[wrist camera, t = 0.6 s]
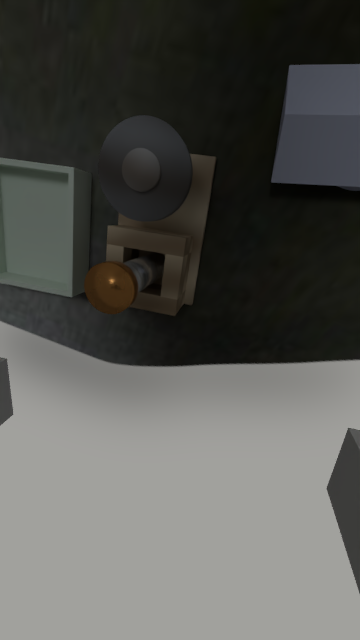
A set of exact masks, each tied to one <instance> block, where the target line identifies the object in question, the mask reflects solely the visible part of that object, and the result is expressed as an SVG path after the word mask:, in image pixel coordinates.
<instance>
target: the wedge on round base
mask: <svg viewBox="0 0 360 640" xmlns="http://www.w3.org/2000/svg"><path fill="white" fill-rule="evenodd" d="M271 182H272V183H292V184H312V185H331V186H338V187H341V188H343V189H346V190H351V191H360V64H332V65H289V71H288V77H287V83H286V90H285V96H284V103H283V109H282V115H281V122H280V128H279V134H278V141H277V147H276V154H275V160H274V166H273V173H272V179H271Z"/></svg>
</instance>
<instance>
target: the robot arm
mask: <svg viewBox="0 0 360 640" xmlns="http://www.w3.org/2000/svg"><path fill="white" fill-rule="evenodd" d="M12 415H13V408H12V399H11V391H10V383H9V374H8V365H7V359H5V358H0V425H1V424H3V423H4V422H5V421H6V420H7V419H8V418H10V417H11V416H12ZM327 491H328V494H329V497H330V500H331V503H332V507H333V510H334V513H335V516H336V519H337V522H338V526H339V529H340V532H341V535H342V538H343V542H344V545H345V548H346V551H347V554H348V558H349V560H350V564H351V567H352V570H353V574H354V577H355V580H356V583H357V586H358V589H359V593H360V430H356V429H351V428H348V431H347V433H346V436H345V439H344V442H343V444H342V447H341V450H340V453H339V455H338V458H337V461H336V464H335V467H334V469H333V472H332V475H331V478H330V480H329V483H328V486H327Z"/></svg>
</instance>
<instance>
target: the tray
mask: <svg viewBox="0 0 360 640" xmlns="http://www.w3.org/2000/svg"><path fill="white" fill-rule="evenodd" d="M91 187H92V173H89V172H86V171H83V170H80V169H77V168H73V167H66V166H58V165H51V164H43V163H36V162H28V161H21V160H14V159H6V158H0V283H3V284H8V285H13V286H18V287H23V288H28V289H33V290H38V291H43V292H48V293H53V294H58V295H63V296H68V297H74V296H76V295H79V294H81V293H83V292H85V289H84V281H85V277H86V275H87V273H88V271H89V248H90V217H91Z"/></svg>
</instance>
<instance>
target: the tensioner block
mask: <svg viewBox="0 0 360 640" xmlns="http://www.w3.org/2000/svg"><path fill="white" fill-rule="evenodd" d="M215 164H216V157H213V156H204V155H196V154H190V153H189V151H188V148H187V146H186V144H185V143H184V141H183V140H182V138H181V137H180V136H179V134H178V133H177V132H176V130H175V129H174V128H173V127H172V126H170V125H169V124H168V123H166V122H165V121H163V120H161V119H159V118H156V117H153V116H147V115H140V116H134V117H131V118H128V119H126V120H124V121H122V122H121V123H119V124H118V125H117V126H116V127H114V128H113V129H112V131H111V132H110V133H109V134H108V136H107V138H106V139H105V141H104V143H103V145H102V148H101V151H100V156H99V162H98V174H99V180H100V184H101V187H102V190H103V193H104V195H105V197H106V198H107V200H108V201H109V203H110V204H111V205H112V207H113V208H114V209H115V210H117V211H118V212H119V219H118V225H111V226H108V234H107V253H106V261H118V262H121V263H124V262H127V261H129V260H132V259H135V258H138V257H141V256H144V255H147V254H150V253H153V252H157V253H160V254H162V255H163V256H164V257H165V263H164V271H163V276H162V277H160V278H159V279H158V280H156V281H155V282H153V283H152V284H150V285H149V286H147V287H146V288H144V289H143V290H141V291H140V292H138V295H137V297H136V299H135V301H134V302H133V304H131V305H130V306H129V307H132V308H137V309H142V310H147V311H152V312H157V313H162V314H167V315H172V316H175V315H176V314H177V312H178V311H179V310H180V308H181V307H182V305H183V304H188V305H192V304H193V300H194V294H195V288H196V282H197V275H198V269H199V263H200V257H201V251H202V245H203V238H204V232H205V226H206V220H207V214H208V208H209V201H210V195H211V189H212V183H213V177H214V171H215Z"/></svg>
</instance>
